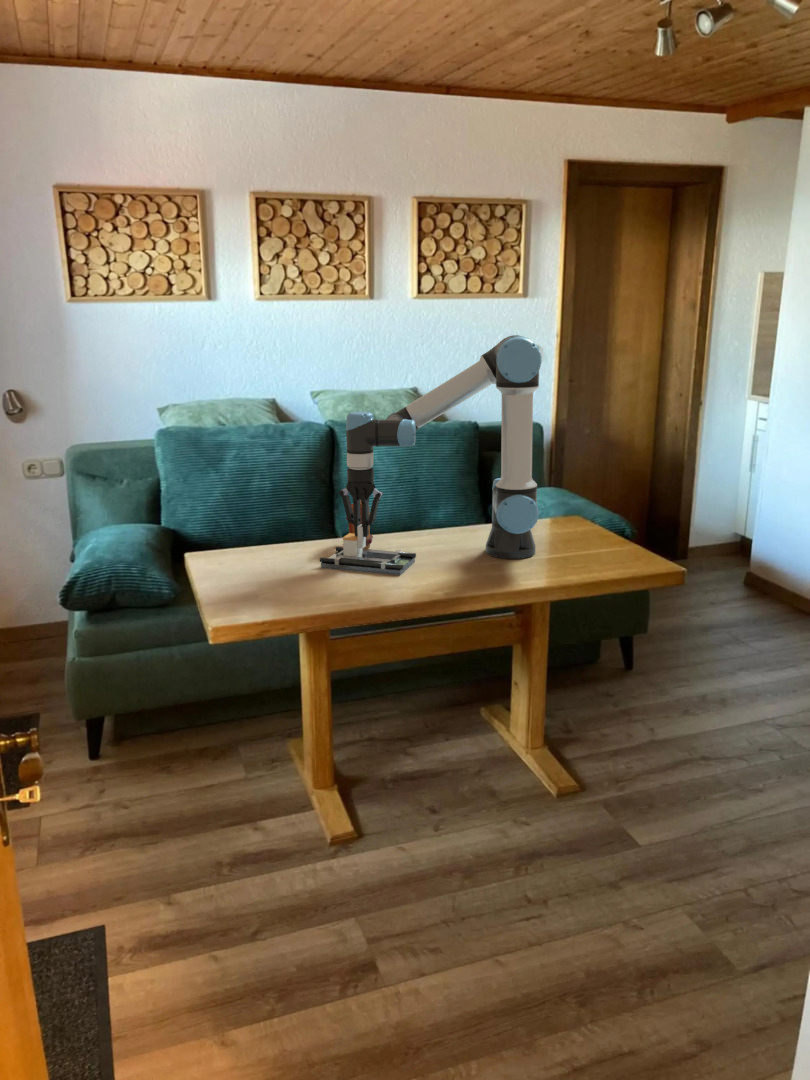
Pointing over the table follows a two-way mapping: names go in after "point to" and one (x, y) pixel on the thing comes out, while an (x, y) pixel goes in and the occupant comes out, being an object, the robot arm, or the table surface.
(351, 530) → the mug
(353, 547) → the orange grey block
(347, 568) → the panel
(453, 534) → the table surface
